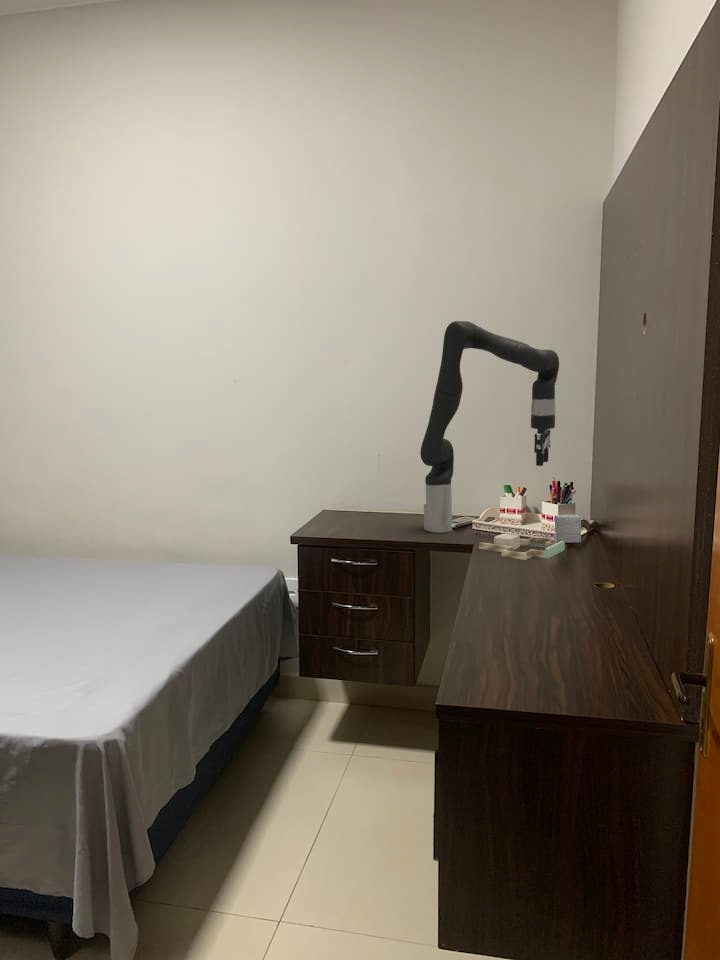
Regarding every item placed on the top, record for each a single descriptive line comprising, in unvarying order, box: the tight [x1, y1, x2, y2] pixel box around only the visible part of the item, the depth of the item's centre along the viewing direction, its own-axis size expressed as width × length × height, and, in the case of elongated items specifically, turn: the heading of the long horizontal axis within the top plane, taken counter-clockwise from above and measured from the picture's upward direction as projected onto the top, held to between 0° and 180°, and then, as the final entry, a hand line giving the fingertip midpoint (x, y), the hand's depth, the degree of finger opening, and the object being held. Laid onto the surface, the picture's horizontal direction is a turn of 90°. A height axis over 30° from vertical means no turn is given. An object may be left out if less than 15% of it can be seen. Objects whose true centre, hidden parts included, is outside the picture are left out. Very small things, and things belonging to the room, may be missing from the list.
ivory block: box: [493, 533, 521, 550], centre depth 239 cm, size 6×6×4 cm
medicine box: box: [554, 514, 582, 544], centre depth 244 cm, size 8×4×9 cm, turn 84°
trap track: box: [478, 535, 566, 561], centre depth 236 cm, size 24×22×3 cm
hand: (542, 463), depth 237 cm, fingers open, 8 cm apart
